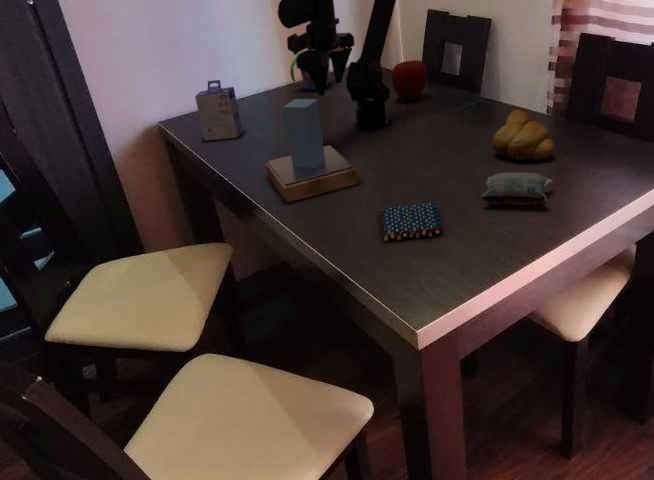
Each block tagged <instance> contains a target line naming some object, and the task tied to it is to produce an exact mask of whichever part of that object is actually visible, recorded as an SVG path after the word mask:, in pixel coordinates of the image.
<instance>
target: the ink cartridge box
mask: <svg viewBox="0 0 654 480" xmlns="http://www.w3.org/2000/svg"><path fill="white" fill-rule="evenodd" d="M213 84H217V85H214V86H211V85H213ZM221 85H222V84H221V79H214V80H207V90H201V91H199V92H198V93H197V94H196V95H195V96H194V99H195V102H196V103H195V104H196V107H197V111H198V116H199V120H200V124H201V129H202V132H203V137H204V141H216V140H225V139H236V138H239V136H241V134H242V133H243V132H244V131H243V126H242V121H241V116H240V111H239V107H238V102H237V96H236V91H235V88H234V86H228V87H221Z"/></svg>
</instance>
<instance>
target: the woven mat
mask: <svg viewBox="0 0 654 480" xmlns="http://www.w3.org/2000/svg"><path fill="white" fill-rule="evenodd" d="M380 219H381V221H380V222H381V228H382V229H381V232H382V233H381V234H382V236H383V237H384V241H385V242H386V243H387V242H388V241H389V238H390V239H395V238H396V240H397V241H401V240H402V237H403V238H407V237H408V236H409V238H410V239H412V238H414V235H415V238H420V237H421V235H422V236H426V235H427V234H428V238H431V237H433V232H434V233H435V235H439V234H440V231H442V229H443V228H442V222H441V218H440V214H439V210H438V206H437V202H432V203H431V202H430V203H428V202H425V204H424V203H423V204H422V205H421V204H419V203H417V204H414V205H412V204H409V205H405V206H404V205H401V206H398V207H396V206H393V207H390V208H389V207H384V208H383V209H382V211H380ZM401 235H402V237H401Z"/></svg>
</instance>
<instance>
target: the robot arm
mask: <svg viewBox="0 0 654 480" xmlns="http://www.w3.org/2000/svg"><path fill="white" fill-rule="evenodd" d="M334 1H335V0H280V1H279V3H278V7H277V16H278V20H279V22H280V23H281V25H282V26H283V27H284V28H286V29H293V28H295V27H298V26H301V25H303V24H306V23H307V24H306V26H305V32H303V33H302V34H300V35H298V34H297V33H293V34H291V35H289V36H287V37H286V44H287V48H286V49H287V50H288V51H290V52H292V53H293V55H294V56H296V55H297V54H299V53H301V52H302V53H301V54H299V55H298V57H297V58H296V57H295V58H296V63H295V65H296V69H297V70H298V69H299V70H300V69H301V70H302V71H305V72H307V73H308V74H309V75H310V77H311V79H312V81H313V83H314V85H315V87H316V89H317V90H316V91H317V93H318V95H319V96H320V97H323V96H325V92H326V88H327V87H326V80H327V73H328V66H329V67H330V63H329V64H327V60H328V57H327V55H328V56H329V57H330V60H331V65H332V71H333V75H334V79H335V83H336V84H341V83H342V80H343V78H344V74H345V70H346V68H347V65H348V61H349V58H350V55H351V53H352V51H353V47H354V46H356V44H355V36H354V35H353V33H351V32H338V31H337V25H338V24H340V18H339V17H336V11H335V10H336V9H335V2H334ZM396 3H397V0H374V1H373V4H372V8H371V9H372V10H371V13H370V17H369V21H368V25H367V29H366V32H365V33H366V34H365V37H364V41H363V45H362V50H361V53H360V56H359V58H357V60H356V61H350V63H349V65H348V71H347V75H346V77H345V80H346V84H345V85H346V89H347V92H348V93H349V95H350V99H351V101H352V102H356V105H357V107H355V114H356V115H355V116H356V125H358V126H359V127H360V128H361V129H363V130H364V131H368V130H372V129H376V128H380V127H384V126H387V125H389V121H388V120H387V119H386V105H385V103H386V102H387V101H388V100H389V99H390V96H391V95H390V94H391V89H390V88H389V87H388V86H387V85H386V84H384V82H383V78H384V72H383V67H382V64H381V60H382V56H383V52H384V49H385V44H386V40H387V37H388V33H389V30H390V25H391V21H392V17H393V14H394V10H395V5H396ZM306 49H307V50H306ZM313 49H315V50H313Z"/></svg>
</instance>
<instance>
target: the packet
mask: <svg viewBox="0 0 654 480" xmlns="http://www.w3.org/2000/svg"><path fill="white" fill-rule="evenodd" d="M282 108H283V115H284V122H285V127H286V133H287V140H288V146H289V153H290V155H291V159H292V165H293V167H303V168H315V167H317V166H318V165H319V164H320V163H321V162H322V161H323V160H325V155H324V147H325V146H324V140H323V133H322V132H323V131H322V123H321V117H320V109H319V101H318V98H294V99H293V100H291V101H290V102H288V103H287V104H285V105H284V106H282Z"/></svg>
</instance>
